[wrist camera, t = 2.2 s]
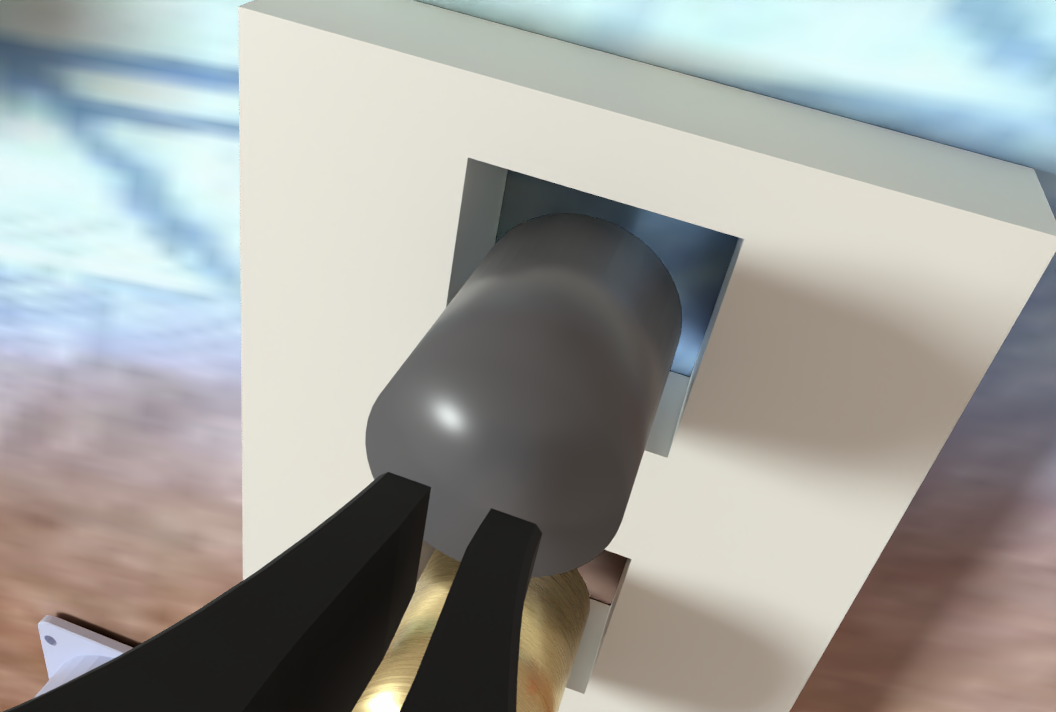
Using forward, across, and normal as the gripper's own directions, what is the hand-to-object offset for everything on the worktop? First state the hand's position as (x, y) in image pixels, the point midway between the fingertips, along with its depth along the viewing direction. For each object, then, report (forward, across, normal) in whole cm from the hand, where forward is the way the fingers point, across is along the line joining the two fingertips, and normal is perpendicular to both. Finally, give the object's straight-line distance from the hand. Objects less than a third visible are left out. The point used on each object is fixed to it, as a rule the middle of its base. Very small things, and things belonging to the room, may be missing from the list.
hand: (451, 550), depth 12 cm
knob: (+7, 0, 0) cm, 7 cm away
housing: (+9, 0, +8) cm, 12 cm away
